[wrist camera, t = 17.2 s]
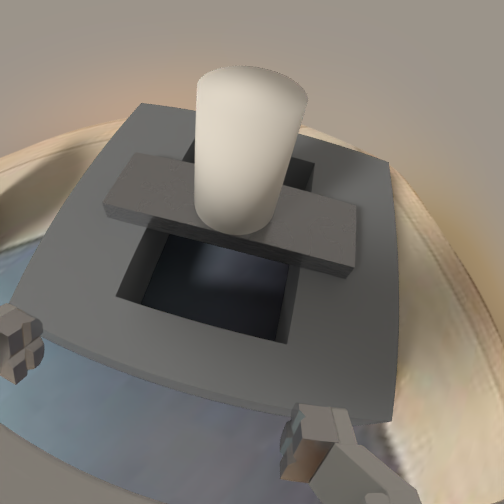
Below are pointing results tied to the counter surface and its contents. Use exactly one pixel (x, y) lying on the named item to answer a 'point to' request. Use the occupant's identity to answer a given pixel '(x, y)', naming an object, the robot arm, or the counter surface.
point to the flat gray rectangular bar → (257, 243)
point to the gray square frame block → (213, 338)
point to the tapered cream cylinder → (243, 145)
